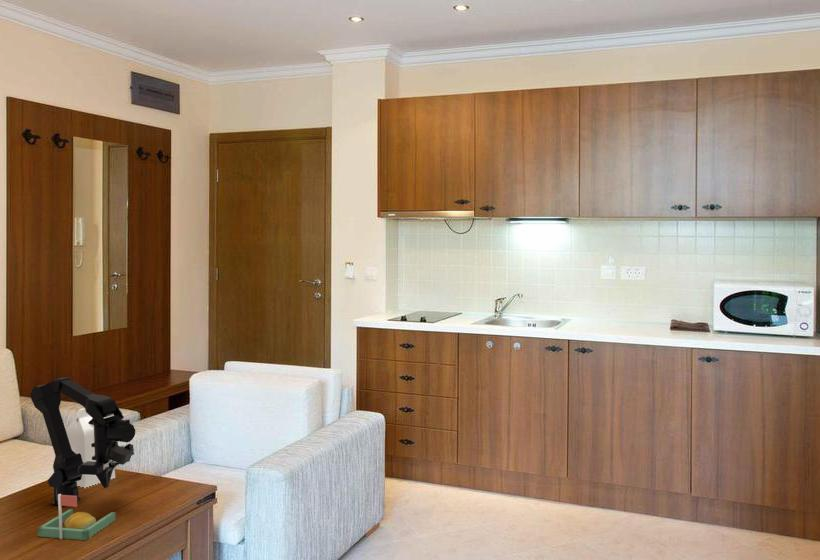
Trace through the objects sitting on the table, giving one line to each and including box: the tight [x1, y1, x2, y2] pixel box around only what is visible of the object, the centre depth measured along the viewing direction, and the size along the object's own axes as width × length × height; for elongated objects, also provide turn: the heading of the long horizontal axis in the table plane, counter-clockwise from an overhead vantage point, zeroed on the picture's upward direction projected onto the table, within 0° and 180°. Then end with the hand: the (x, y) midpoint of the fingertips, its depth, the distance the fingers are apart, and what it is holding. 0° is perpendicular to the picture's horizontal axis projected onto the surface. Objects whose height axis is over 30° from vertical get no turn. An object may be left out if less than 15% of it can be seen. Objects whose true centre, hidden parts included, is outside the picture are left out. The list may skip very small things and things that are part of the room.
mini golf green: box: [37, 494, 116, 541], centre depth 210 cm, size 15×15×13 cm
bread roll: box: [63, 511, 97, 530], centre depth 212 cm, size 8×9×4 cm
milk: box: [66, 407, 116, 489], centre depth 251 cm, size 12×12×26 cm
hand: (105, 487), depth 224 cm, fingers closed
